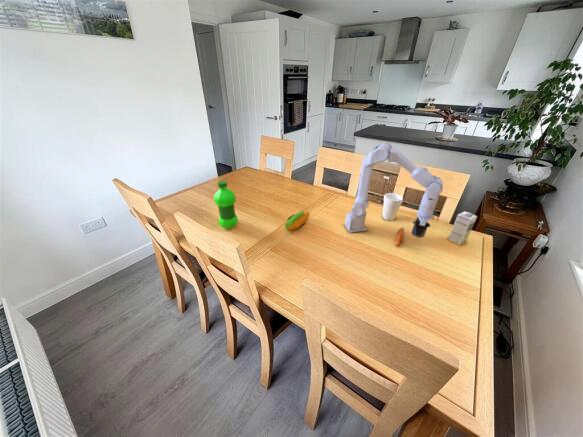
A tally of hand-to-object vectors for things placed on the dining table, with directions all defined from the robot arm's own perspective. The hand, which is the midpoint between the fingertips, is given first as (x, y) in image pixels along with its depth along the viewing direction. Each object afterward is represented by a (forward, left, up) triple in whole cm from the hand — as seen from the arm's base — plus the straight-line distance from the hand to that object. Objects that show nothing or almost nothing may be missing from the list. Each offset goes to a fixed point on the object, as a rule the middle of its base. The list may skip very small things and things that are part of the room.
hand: (418, 231), depth 108 cm
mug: (0, 0, -2) cm, 2 cm away
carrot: (-5, +5, -7) cm, 10 cm away
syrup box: (+21, -2, -7) cm, 23 cm away
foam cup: (0, +24, -7) cm, 25 cm away
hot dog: (-52, +26, -7) cm, 58 cm away
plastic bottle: (-88, +32, -7) cm, 94 cm away
